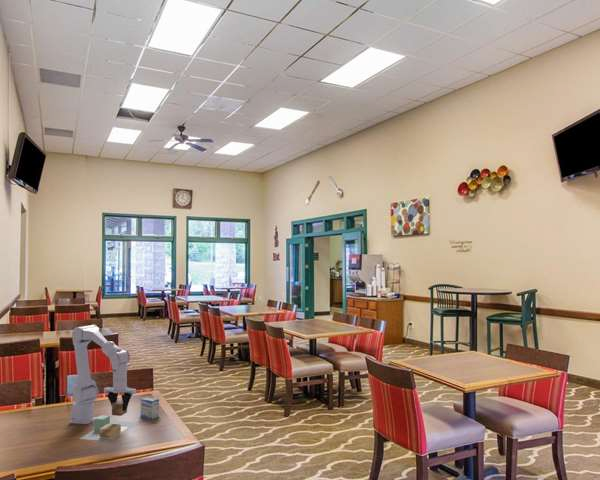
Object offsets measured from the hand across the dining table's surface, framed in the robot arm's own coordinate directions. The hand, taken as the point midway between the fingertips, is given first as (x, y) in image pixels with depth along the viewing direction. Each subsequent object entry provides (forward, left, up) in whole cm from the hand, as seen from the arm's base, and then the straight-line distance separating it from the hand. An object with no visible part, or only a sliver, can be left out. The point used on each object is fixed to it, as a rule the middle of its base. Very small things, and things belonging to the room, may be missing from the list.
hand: (119, 409), depth 204 cm
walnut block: (0, 0, -2) cm, 2 cm away
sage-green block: (-8, -1, -8) cm, 12 cm away
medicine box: (+5, +17, -9) cm, 20 cm away
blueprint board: (-3, -2, -9) cm, 10 cm away
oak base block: (0, -7, -8) cm, 11 cm away
